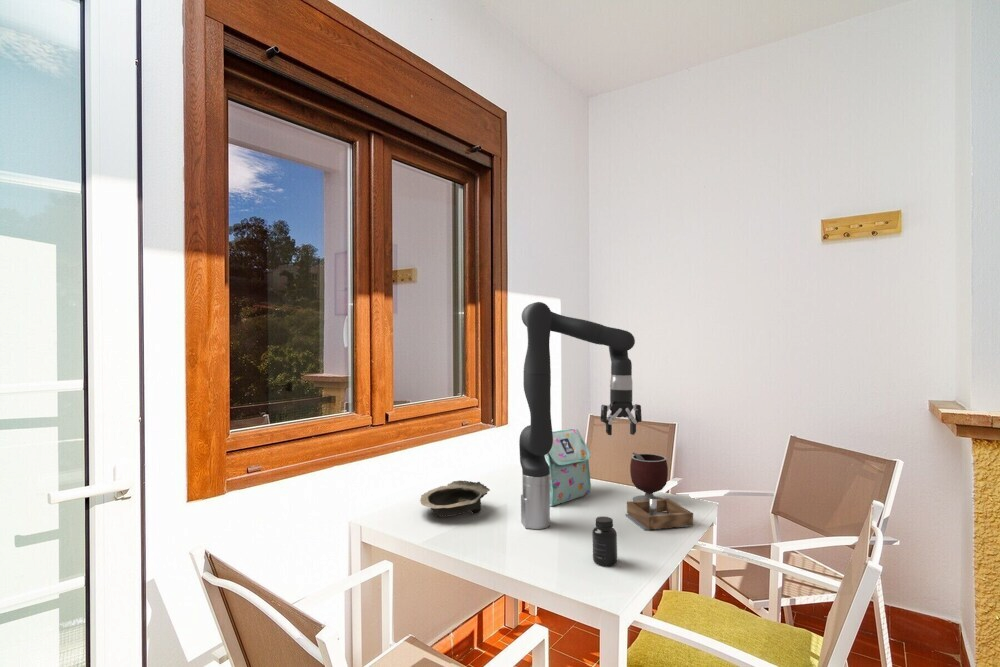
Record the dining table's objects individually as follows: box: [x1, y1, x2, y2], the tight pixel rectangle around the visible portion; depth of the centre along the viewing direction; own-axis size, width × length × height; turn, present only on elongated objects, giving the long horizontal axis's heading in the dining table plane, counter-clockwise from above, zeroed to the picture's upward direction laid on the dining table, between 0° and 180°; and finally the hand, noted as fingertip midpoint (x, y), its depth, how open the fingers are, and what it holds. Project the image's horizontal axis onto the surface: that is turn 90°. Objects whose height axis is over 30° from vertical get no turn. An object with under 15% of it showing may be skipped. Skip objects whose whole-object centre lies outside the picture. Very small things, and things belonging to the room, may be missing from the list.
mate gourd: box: [629, 452, 669, 501], centre depth 196 cm, size 16×14×20 cm
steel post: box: [649, 498, 657, 515], centre depth 176 cm, size 2×2×7 cm
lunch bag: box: [545, 428, 592, 507], centre depth 202 cm, size 23×16×27 cm
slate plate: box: [625, 511, 666, 531], centre depth 176 cm, size 14×14×1 cm
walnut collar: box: [626, 498, 694, 530], centre depth 176 cm, size 16×16×4 cm
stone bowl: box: [419, 480, 491, 518], centre depth 186 cm, size 25×25×9 cm
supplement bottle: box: [591, 516, 618, 567], centre depth 144 cm, size 7×7×12 cm
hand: (621, 434), depth 178 cm, fingers open, 8 cm apart
